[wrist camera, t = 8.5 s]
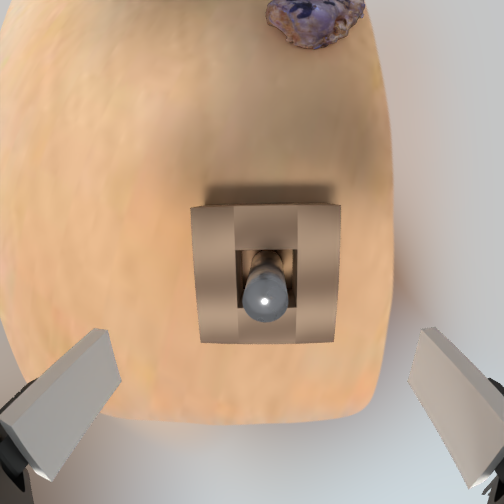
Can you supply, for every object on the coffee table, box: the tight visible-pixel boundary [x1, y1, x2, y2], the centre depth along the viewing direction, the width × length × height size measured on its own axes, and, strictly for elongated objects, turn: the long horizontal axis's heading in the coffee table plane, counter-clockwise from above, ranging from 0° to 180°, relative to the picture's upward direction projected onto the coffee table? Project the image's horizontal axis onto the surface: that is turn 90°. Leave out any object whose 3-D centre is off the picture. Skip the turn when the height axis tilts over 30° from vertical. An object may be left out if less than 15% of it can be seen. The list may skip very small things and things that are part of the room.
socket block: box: [191, 203, 341, 344], centre depth 26 cm, size 12×12×5 cm
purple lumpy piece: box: [266, 0, 365, 49], centre depth 20 cm, size 12×8×6 cm, turn 115°
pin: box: [242, 250, 288, 323], centre depth 24 cm, size 3×3×10 cm
